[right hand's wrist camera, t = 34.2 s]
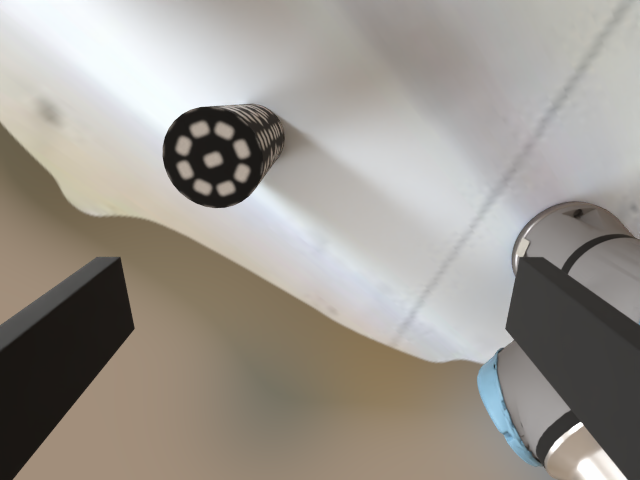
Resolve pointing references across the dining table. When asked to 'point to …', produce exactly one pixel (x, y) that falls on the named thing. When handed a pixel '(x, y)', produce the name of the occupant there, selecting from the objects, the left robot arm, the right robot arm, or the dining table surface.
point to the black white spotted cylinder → (222, 152)
